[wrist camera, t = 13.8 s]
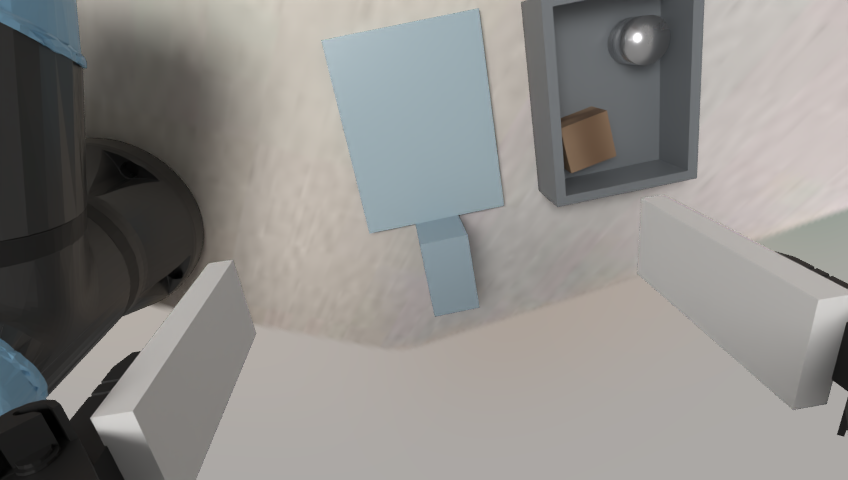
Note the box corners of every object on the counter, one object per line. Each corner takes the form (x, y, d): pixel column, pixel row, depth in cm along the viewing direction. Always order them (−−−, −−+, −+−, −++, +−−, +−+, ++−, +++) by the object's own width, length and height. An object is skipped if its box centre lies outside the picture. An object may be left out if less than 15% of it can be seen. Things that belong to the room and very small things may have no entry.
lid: (385, 293, 47) (386, 326, 41) (322, 40, 38) (312, 39, 32) (509, 268, 47) (527, 297, 42) (476, 9, 38) (492, 2, 33)
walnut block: (558, 165, 43) (571, 173, 40) (547, 123, 41) (560, 128, 39) (601, 148, 43) (616, 155, 40) (591, 106, 41) (606, 110, 38)
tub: (538, 190, 44) (557, 206, 40) (521, 2, 38) (540, -4, 33) (663, 164, 44) (696, 178, 40) (666, -28, 38) (705, -38, 34)
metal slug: (608, 68, 40) (625, 69, 37) (606, 22, 39) (624, 20, 36) (649, 59, 40) (669, 60, 37) (649, 12, 39) (670, 10, 36)
